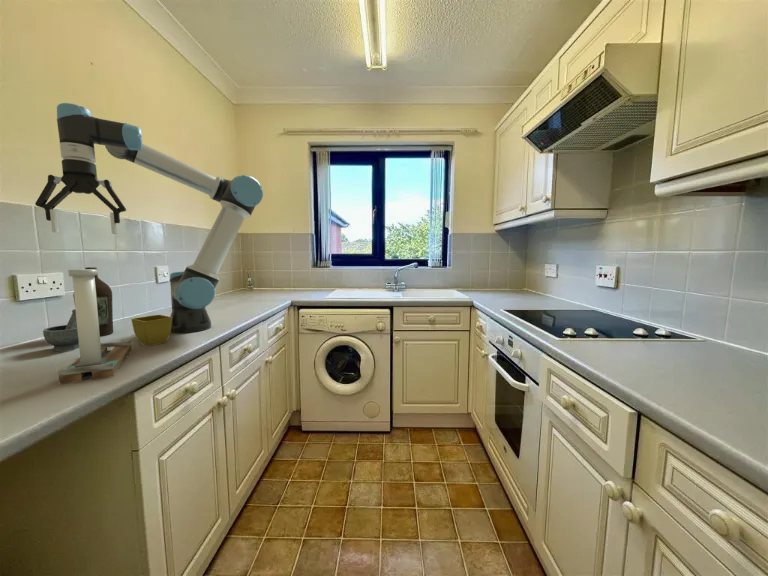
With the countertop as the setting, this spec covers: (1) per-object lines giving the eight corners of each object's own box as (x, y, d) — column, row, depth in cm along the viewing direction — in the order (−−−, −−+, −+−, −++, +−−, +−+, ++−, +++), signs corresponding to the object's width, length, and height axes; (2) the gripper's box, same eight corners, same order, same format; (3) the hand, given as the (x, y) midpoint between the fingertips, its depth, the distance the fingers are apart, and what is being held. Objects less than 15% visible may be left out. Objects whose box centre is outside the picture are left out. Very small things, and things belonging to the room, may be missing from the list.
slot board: (132, 350, 102) (131, 340, 101) (113, 376, 81) (112, 364, 80) (90, 354, 97) (89, 344, 96) (59, 383, 76) (57, 370, 76)
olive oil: (76, 334, 120) (69, 267, 117) (113, 329, 127) (108, 266, 124) (78, 340, 112) (71, 268, 109) (117, 334, 120) (111, 267, 117)
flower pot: (161, 338, 115) (159, 314, 114) (174, 342, 111) (172, 316, 110) (132, 344, 108) (130, 318, 107) (145, 349, 103) (143, 321, 102)
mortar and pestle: (68, 353, 98) (64, 314, 97) (36, 353, 98) (31, 314, 96) (98, 342, 109) (95, 308, 108) (69, 343, 109) (66, 308, 107)
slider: (107, 360, 86) (99, 269, 83) (102, 366, 81) (93, 270, 78) (81, 363, 83) (72, 269, 80) (74, 370, 79) (64, 270, 76)
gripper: (12, 151, 87) (22, 231, 89) (128, 164, 99) (134, 233, 101) (26, 158, 93) (34, 232, 96) (133, 169, 105) (138, 234, 108)
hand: (86, 233), depth 99 cm, fingers open, 13 cm apart
